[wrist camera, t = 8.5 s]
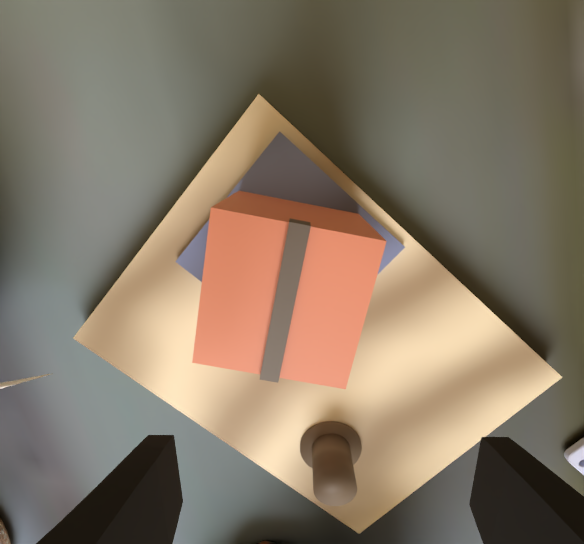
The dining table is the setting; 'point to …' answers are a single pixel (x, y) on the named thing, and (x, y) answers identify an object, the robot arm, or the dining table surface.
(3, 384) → the cat head
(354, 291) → the strapped orange box
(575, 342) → the dining table surface
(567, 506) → the robot arm
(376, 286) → the board
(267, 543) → the lucky cat figurine
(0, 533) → the planter
